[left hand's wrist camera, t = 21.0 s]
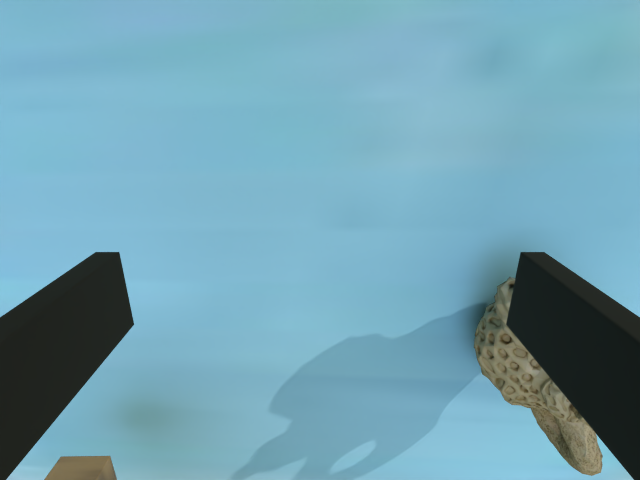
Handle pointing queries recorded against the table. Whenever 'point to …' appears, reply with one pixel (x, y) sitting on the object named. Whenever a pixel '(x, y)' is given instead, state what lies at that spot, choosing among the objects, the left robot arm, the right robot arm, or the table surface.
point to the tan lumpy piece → (532, 386)
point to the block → (83, 468)
